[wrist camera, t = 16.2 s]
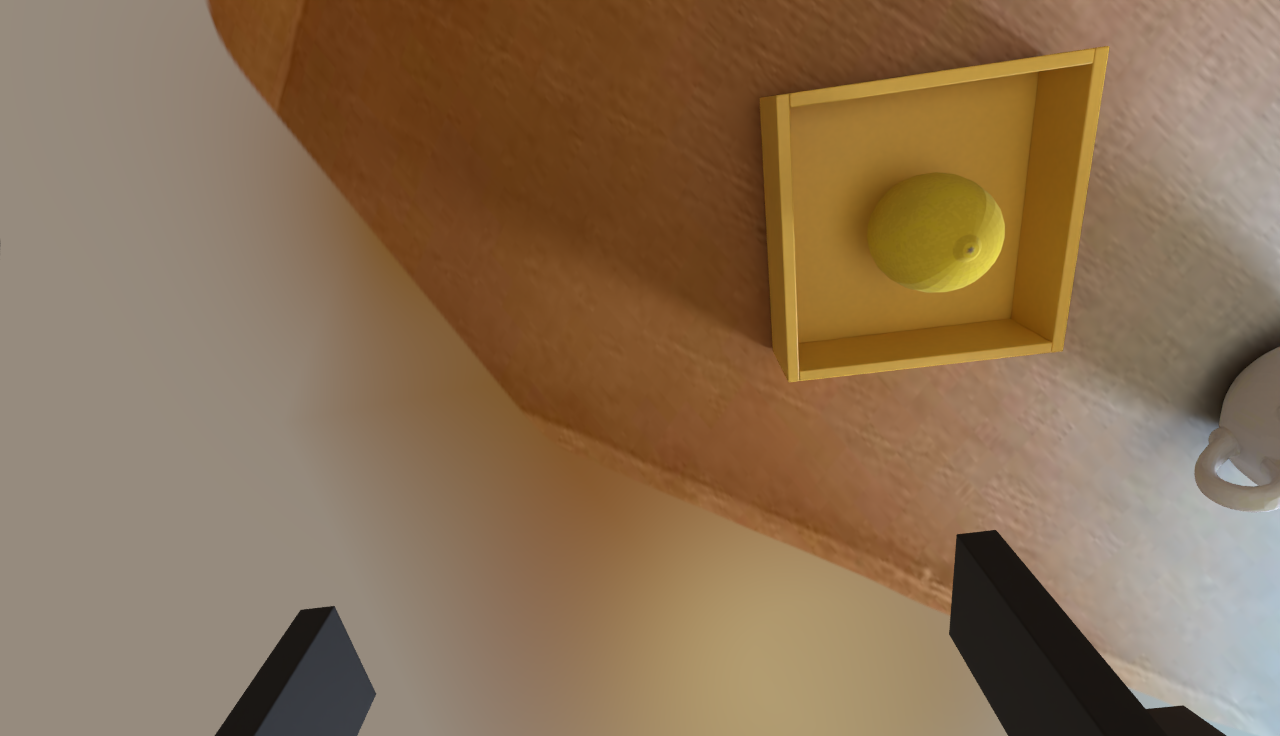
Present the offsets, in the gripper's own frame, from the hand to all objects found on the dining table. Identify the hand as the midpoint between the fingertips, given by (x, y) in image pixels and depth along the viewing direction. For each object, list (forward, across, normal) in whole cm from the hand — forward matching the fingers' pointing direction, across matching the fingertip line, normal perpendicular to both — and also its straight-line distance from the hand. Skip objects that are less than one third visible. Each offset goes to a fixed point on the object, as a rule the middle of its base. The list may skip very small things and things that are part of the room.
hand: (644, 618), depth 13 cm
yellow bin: (+24, +14, +2) cm, 28 cm away
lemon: (+24, +14, +2) cm, 28 cm away
